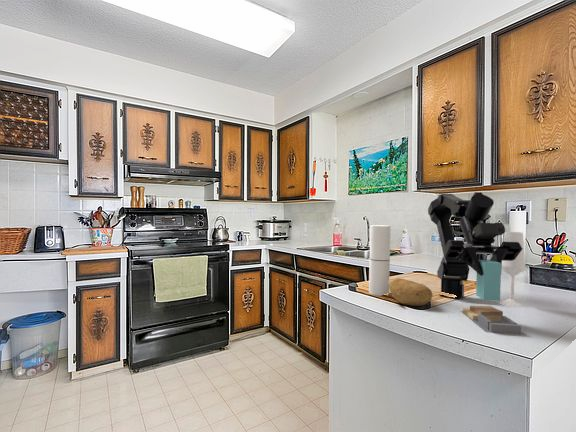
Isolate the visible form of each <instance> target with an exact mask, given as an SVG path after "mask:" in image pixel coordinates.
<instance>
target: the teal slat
mask: <svg viewBox="0 0 576 432" xmlns="http://www.w3.org/2000/svg"><path fill="white" fill-rule="evenodd" d="M478 260H479V262H480V265H481V267H482V270H483V275H482V276H481V275H479V274H478V273H477V272H476V282H475V284H476V287H475V289H476V290H475V296H477V297H478V298H480V299H481V300H483V301H495V302H496V301H498V302H501V287H502V286H501V283H502V282H501V281H502V279H501V278H502V268H501V263H499V262H496V261H493V260H490V259H478Z"/></svg>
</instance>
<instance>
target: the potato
mask: <svg viewBox="0 0 576 432" xmlns="http://www.w3.org/2000/svg"><path fill="white" fill-rule="evenodd" d="M389 292H390V293H391V296H392V297H393V299H395V300H396V301H397V302H398V303H400V304H401V305H407V306H413V307H424V306H425V305H426V304H428V303H429V302H430V301H431V300H432V299H433V296H434V295H433V291H432V290H431V289H430V288H429V287H428V286H426V285H425V284H421V283H419V282H416V281H412V280H407V279H404V278H394V279H392V280H391V281H389Z"/></svg>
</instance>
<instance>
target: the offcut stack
mask: <svg viewBox="0 0 576 432" xmlns="http://www.w3.org/2000/svg"><path fill="white" fill-rule="evenodd" d="M461 308H462V310H461V311H463V312H464V313H465V314H466V315H468V316H469V317H470V318H471V319H473V320H478V314H482V315H483V316H485V317H486V318H488V319H489V320H490V321H498V322H501V316H504V311H502V310H500V309H498V308H496V307H494V306H491V305H469V307H464V306H463V307H461ZM466 315H465V316H466Z"/></svg>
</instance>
